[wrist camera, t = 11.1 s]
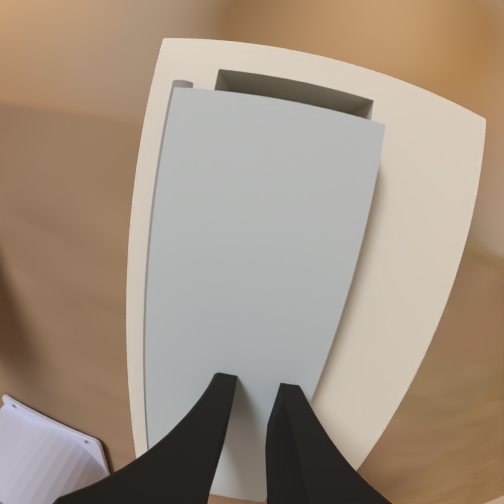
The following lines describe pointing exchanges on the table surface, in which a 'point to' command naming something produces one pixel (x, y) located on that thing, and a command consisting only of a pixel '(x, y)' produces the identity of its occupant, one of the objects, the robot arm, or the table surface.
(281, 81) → the white sliding drawer case
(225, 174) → the cover
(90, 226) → the table surface
